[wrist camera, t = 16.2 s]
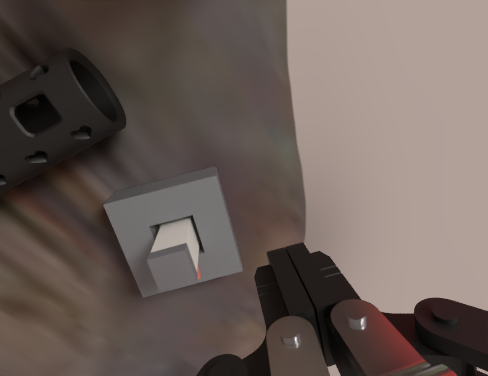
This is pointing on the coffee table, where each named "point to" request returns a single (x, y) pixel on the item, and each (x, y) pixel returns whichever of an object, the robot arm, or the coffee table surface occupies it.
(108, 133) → the muzzle brake
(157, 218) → the socket
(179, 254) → the plug
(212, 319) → the coffee table surface
